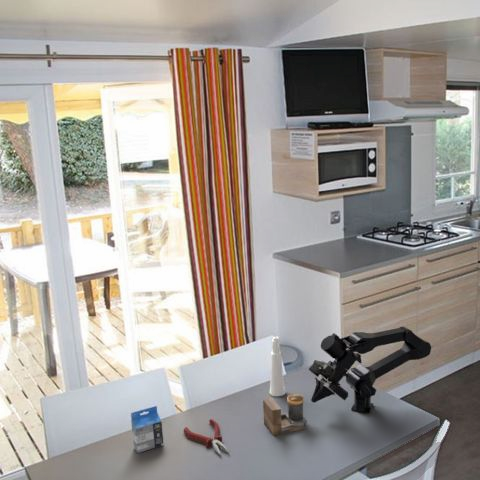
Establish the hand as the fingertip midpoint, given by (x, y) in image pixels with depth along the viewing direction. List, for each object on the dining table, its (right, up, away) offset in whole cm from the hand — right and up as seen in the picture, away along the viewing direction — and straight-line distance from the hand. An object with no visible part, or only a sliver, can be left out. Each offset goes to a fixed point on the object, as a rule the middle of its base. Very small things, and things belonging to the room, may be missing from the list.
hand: (312, 401), depth 195 cm
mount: (-10, -8, -2) cm, 13 cm away
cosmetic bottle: (-10, -3, +21) cm, 24 cm away
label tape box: (-54, -12, -10) cm, 56 cm away
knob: (-6, -6, -1) cm, 8 cm away
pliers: (-35, -11, -8) cm, 38 cm away
